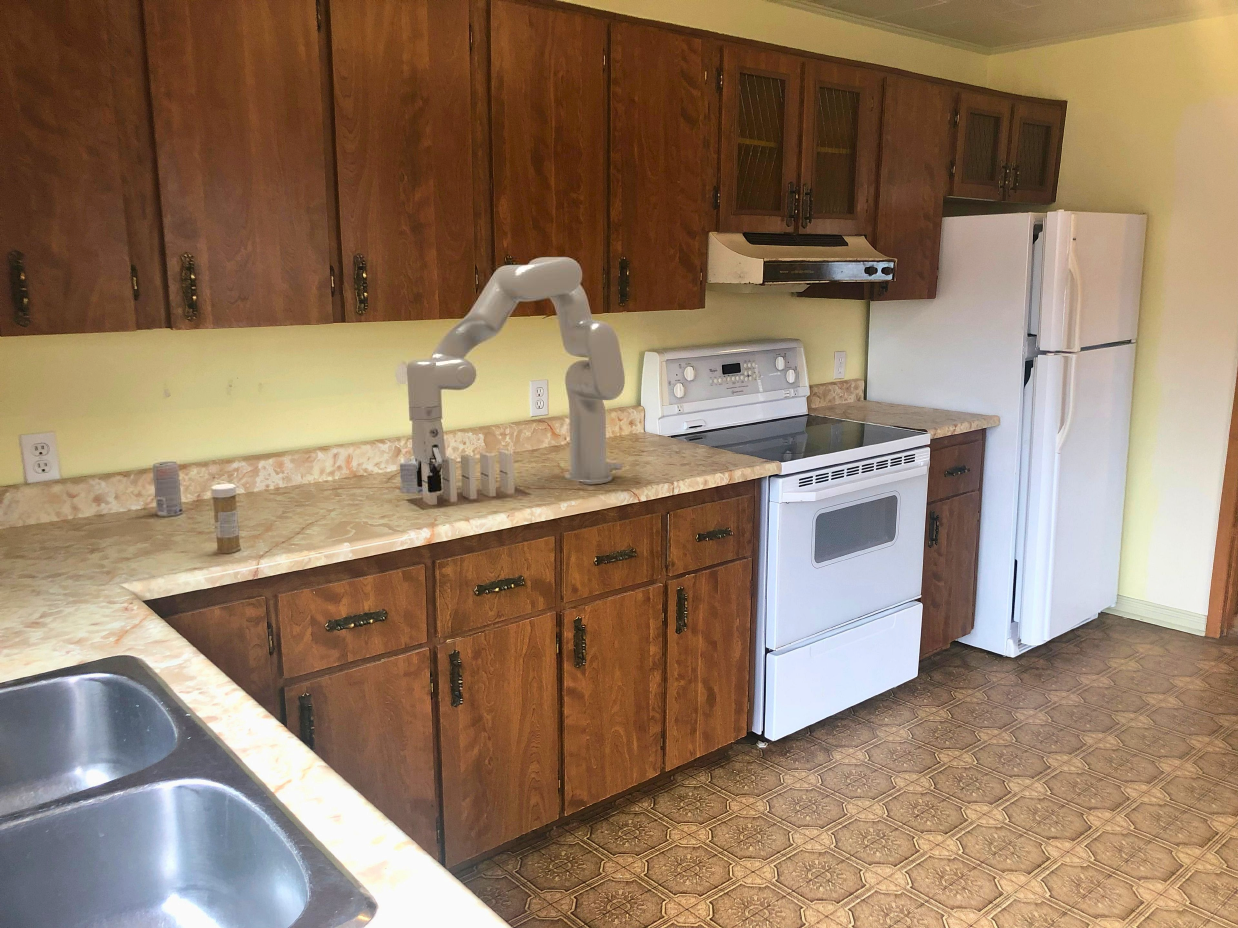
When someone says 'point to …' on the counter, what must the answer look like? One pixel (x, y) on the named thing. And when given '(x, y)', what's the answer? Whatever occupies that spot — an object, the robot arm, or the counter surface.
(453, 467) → the domino
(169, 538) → the counter surface
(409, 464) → the medicine box
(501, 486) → the domino
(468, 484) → the domino
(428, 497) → the domino
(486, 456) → the domino
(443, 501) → the walnut board
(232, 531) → the sprinkles bottle
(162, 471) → the energy drink
